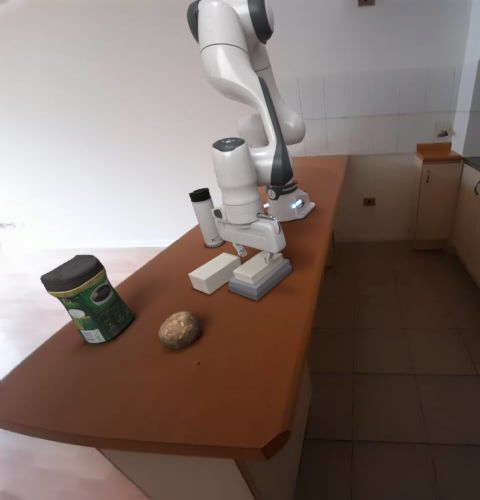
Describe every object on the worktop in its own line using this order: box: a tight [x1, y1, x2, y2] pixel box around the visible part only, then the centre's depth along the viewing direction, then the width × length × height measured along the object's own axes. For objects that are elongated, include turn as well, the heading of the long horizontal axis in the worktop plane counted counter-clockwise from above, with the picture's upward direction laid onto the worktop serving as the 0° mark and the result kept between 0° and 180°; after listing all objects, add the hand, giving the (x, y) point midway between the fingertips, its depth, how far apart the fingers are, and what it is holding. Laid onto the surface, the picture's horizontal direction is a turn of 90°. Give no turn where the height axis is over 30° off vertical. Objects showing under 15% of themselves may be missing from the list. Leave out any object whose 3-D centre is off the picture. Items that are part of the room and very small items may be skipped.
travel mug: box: [188, 187, 225, 248], centre depth 94 cm, size 6×7×20 cm
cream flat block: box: [233, 250, 284, 284], centre depth 76 cm, size 12×6×2 cm, turn 151°
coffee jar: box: [40, 254, 134, 344], centre depth 60 cm, size 10×8×19 cm
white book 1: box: [187, 251, 242, 287], centre depth 78 cm, size 12×6×2 cm, turn 151°
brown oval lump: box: [157, 310, 202, 350], centre depth 60 cm, size 8×8×6 cm
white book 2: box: [190, 263, 243, 295], centre depth 79 cm, size 12×6×2 cm, turn 151°
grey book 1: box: [227, 257, 291, 294], centre depth 76 cm, size 14×10×2 cm, turn 154°
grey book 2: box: [227, 264, 293, 302], centre depth 77 cm, size 15×10×2 cm, turn 151°
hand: (256, 259), depth 74 cm, fingers open, 8 cm apart
